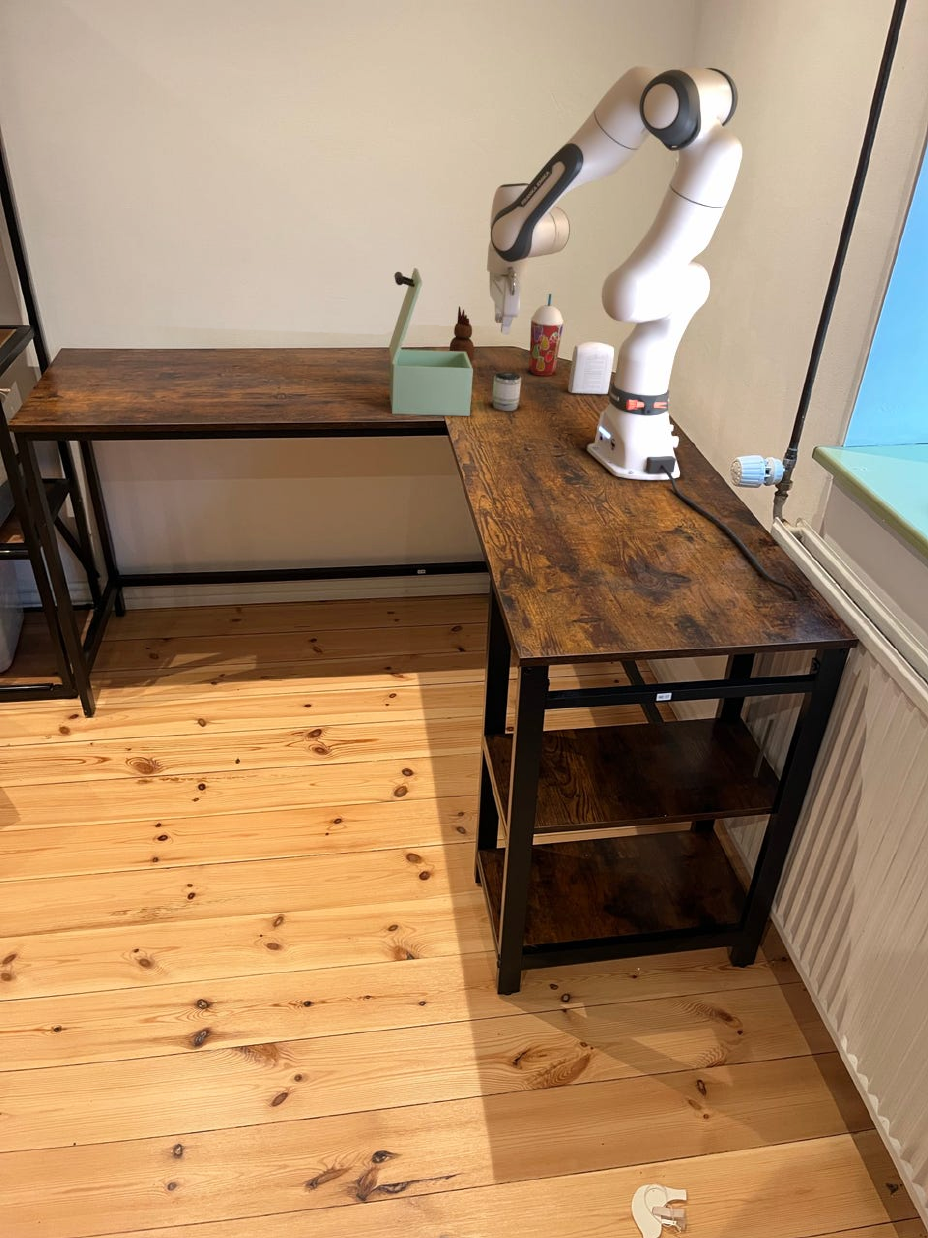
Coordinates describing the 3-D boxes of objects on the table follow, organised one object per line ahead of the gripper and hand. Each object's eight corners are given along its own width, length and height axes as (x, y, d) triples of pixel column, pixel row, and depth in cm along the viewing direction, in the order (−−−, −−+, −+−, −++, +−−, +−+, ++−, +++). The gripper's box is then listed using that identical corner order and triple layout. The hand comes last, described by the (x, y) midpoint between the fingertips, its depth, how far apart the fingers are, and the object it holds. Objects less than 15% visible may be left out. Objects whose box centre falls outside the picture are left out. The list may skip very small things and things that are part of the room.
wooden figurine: (445, 363, 252) (448, 305, 245) (465, 362, 255) (469, 304, 247) (455, 371, 247) (459, 311, 240) (476, 369, 249) (480, 310, 242)
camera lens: (486, 405, 226) (488, 372, 222) (506, 401, 229) (509, 368, 225) (503, 413, 222) (506, 379, 218) (523, 409, 225) (527, 375, 221)
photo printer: (605, 389, 242) (612, 340, 236) (610, 395, 239) (617, 345, 232) (566, 388, 241) (572, 339, 234) (569, 394, 237) (576, 344, 231)
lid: (417, 268, 214) (396, 261, 212) (422, 282, 202) (399, 274, 201) (392, 347, 222) (371, 340, 221) (395, 364, 211) (373, 357, 209)
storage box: (462, 396, 230) (465, 351, 225) (469, 415, 219) (473, 368, 213) (389, 394, 228) (390, 348, 222) (392, 413, 216) (393, 366, 211)
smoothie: (563, 372, 252) (572, 294, 242) (548, 379, 246) (557, 299, 236) (535, 365, 256) (543, 288, 246) (520, 372, 250) (527, 293, 240)
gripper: (530, 274, 200) (523, 340, 207) (514, 254, 218) (508, 316, 225) (500, 272, 199) (494, 339, 207) (486, 253, 217) (482, 315, 224)
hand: (501, 327), depth 216 cm, fingers open, 8 cm apart
